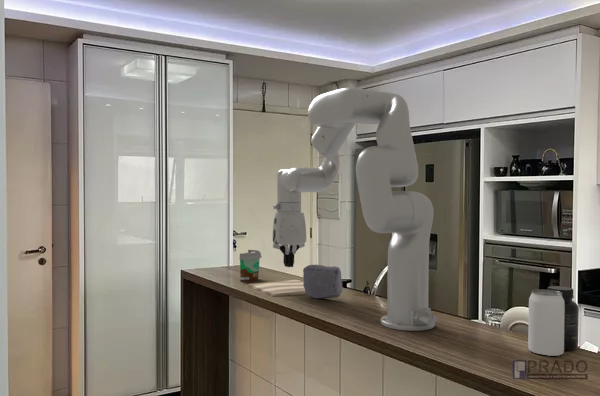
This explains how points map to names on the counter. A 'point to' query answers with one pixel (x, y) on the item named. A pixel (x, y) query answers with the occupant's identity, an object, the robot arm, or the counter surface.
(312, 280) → the stone block
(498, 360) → the counter surface
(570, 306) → the supplement bottle
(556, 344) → the can
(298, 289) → the striped cloth
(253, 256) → the food container
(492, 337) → the counter surface
